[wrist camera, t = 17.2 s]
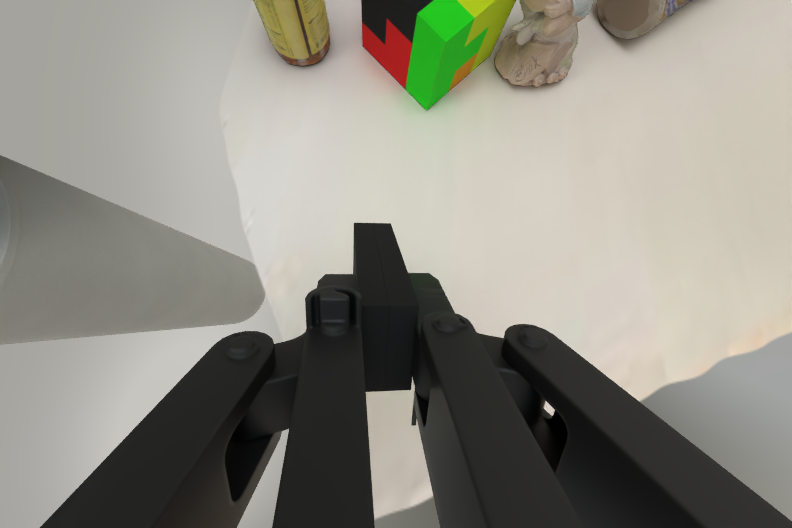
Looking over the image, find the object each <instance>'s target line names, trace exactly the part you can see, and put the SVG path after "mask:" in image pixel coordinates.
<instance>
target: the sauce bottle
mask: <svg viewBox="0 0 792 528" xmlns="http://www.w3.org/2000/svg"><path fill="white" fill-rule="evenodd" d="M253 1H254V3H255V5H256V8H257V10H258V12H259V15H260V17H261V19H262V22H263V24H264V27H265V29H266V31H267V34H268V36H269V39H270V41H271V43H272V45H273V46H274V48H275V49H276V51H277V52H278V53H279V55H281V57H282V58H283V59H285V60H286V61H287V62H289V63H290V64H292V65H298V66H304V65H312V64H315V63H317V62H318V61H320V60H321V59H322V58H323V57H324V55H325V54H326V53H327V51H328V49H329V46H330V36H329V23H328V18H327V12H326V7H325V2H324V0H253Z"/></svg>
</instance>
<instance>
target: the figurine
mask: <svg viewBox="0 0 792 528" xmlns="http://www.w3.org/2000/svg"><path fill="white" fill-rule="evenodd" d="M593 1H594V0H520V4H521V7H522V11H523V15H524V19H523V20H522V21H521V22H519V23H517V24H515V25H513V26H512V27H511V29H512V30H513V31H514V32H513V33H511V34H509V35H508V36H506V37H505V39H504V40H503V43H502V47H501V49H500V50H499V52H498V53H497V55H496V58H495V65H496V68H497V70H498V71H499V73H500V74H501V75H502V77H503V78H505V79H508V80H509V82H510V83H511V84H513V85H521V86H526V85H527V86H529V85H534V86H536V87H539V86H540V85H541V84H542V83H543V84H544V83H549V84H550V83H553V82H554V81H555V82H558V81H560V80H562V79H563V78H564V77H565V76H567V73H568V71H569V69H570V67H571V64H572V54H573V52H574V50H575V48H576V45H577V41H578V28H577V22H579V21H580V20H582V19H583V18H584V17H585V16H586V15H588V14H589V11H590V10H591V7H592V2H593Z"/></svg>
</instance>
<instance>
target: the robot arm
mask: <svg viewBox="0 0 792 528" xmlns="http://www.w3.org/2000/svg"><path fill="white" fill-rule="evenodd" d="M305 303H306V324H307V329H306V332H305V333H304V334H302V335H301V336H299V337H297V338H295V339H292V340H289V341H286V342H281V343H277V344H274V343H273V340H272V338H271V337H270V336H268V335H267V334H265V333H261V332H257V331H244V332H239V333H235V334H232V335H229V336H227V337H225V338H223V339H221V340H220V341H219V342H217V343H216V344H215V345H214V346H213V347H212V348H211V349H210V350H209V351H208V352H207V353H206V354H205V355H204V356H203V357H202V358H201V359H200V361H198V362H197V363H196V364H195V366H194V367H193V368H192V369H191V370H190V371H189V372H188V373H187V374H186V375H185V376H184V377H183V378H182V379H181V380H180V381H179V382H178V383H177V384H176V386H174V388H173V389H172V390H171V391H170V392H169V393H168V394H167V395H166V396H165V397H164V398H163V399H162V400H161V401H160V402H159V403H158V404H157V405H156V407H155V408H154V409H153V410H152V411H151V412H150V413H149V414H148V415H147V416H146V417H145V418H144V419H143V420H142V421H141V422H140V423H139V424H138V426H136V427H135V428H134V429H133V431H132V432H131V433H130V434H129V435H128V436H127V437H126V438H125V439H124V440H123V441H122V442H121V443H120V444H119V445H118V446H117V447H116V448H115V449H114V450H113V452H112V453H111V454H110V455H109V456H108V457H107V458H106V459H105V460H104V461H103V462H102V463H101V464H100V465H99V466H98V467H97V468H96V469H95V471H93V473H92V474H91V475H90V476H89V477H88V478H87V479H86V480H85V481H84V482H83V483H82V484H81V485H80V486H79V487H78V488H77V489H76V490H75V492H74V493H73V494H72V495H71V496H70V497H69V498H68V499H67V500H66V501H65V502H64V503H63V504H62V505H61V506H60V507H59V508H58V509H57V510H56V511H55V512H54V513H53V515H52V516H51V517H50V518H49V519H48V520H47V521H46V522H45V523H44V524H43V525H42V526H41V527H40V528H237V526H238V524H239V522H240V519H241V517H242V515H243V513H244V511H245V509H246V507H247V505H248V503H249V501H250V499H251V497H252V495H253V493H254V491H255V489H256V487H257V484H258V483H259V481H260V479H261V476H262V474H263V472H264V470H265V468H266V466H267V464H268V462H269V460H270V458H271V456H272V454H273V452H274V450H275V448H276V446H277V444H278V441H279V439H280V437H281V432H282V431H283V430H286V429H289V434H288V439H287V445H286V451H285V457H284V463H283V468H282V475H281V480H280V486H279V492H278V497H277V503H276V510H275V515H274V521H273V527H272V528H374V512H373V497H372V482H371V467H370V452H369V437H368V422H367V407H366V392H372V391H395V390H411V383H412V376H413V380H414V385H415V393H414V403H413V413H412V425H416V418H417V421H418V426H419V430H420V435H421V440H422V444H423V449H424V454H425V458H426V463H427V468H428V472H429V477H430V482H431V486H432V491H433V495H434V499H435V505H436V509H437V514H438V519H439V523H440V528H792V521H791V520H789V519H788V518H787V517H786V516H784V515H783V514H782V513H780V512H779V511H778V510H777V509H775V508H774V507H773V506H771V505H770V504H769V503H768V502H766V501H765V500H764V499H763V498H761V497H760V496H759V495H757V494H756V493H755V492H754V491H752V490H751V489H750V488H749V487H747V486H746V485H745V484H743V483H742V482H741V481H740V480H738V479H737V478H736V477H734V476H733V475H732V474H731V473H729V472H728V471H727V470H726V469H724V468H723V467H722V466H720V465H719V464H718V463H717V462H715V461H714V460H713V459H712V458H710V457H709V456H708V455H706V454H705V453H704V452H702V451H701V450H700V449H699V448H697V447H696V446H695V445H694V444H692V443H691V442H690V441H688V440H687V439H686V438H685V437H683V436H682V435H681V434H679V433H678V432H677V431H676V430H674V429H673V428H672V427H671V426H669V425H668V424H667V423H666V422H664V421H663V420H662V419H660V418H659V417H658V416H657V415H655V414H654V413H653V412H652V411H650V410H649V409H648V408H646V407H645V406H644V405H642V404H641V403H640V402H639V401H638V400H636V399H635V398H634V397H632V396H631V395H630V394H629V393H627V392H626V391H625V390H623V389H622V388H621V387H620V386H618V385H617V384H616V383H615V382H613V381H612V380H611V379H609V378H608V377H607V376H606V375H604V374H603V373H602V372H601V371H599V370H598V369H597V368H595V367H594V366H593V365H592V364H590V363H589V362H588V361H586V360H585V359H584V358H583V357H581V356H580V355H579V354H578V353H576V352H575V351H574V350H572V349H571V348H570V347H569V346H567V345H566V344H565V343H563V342H562V341H561V340H560V339H558V338H557V337H556V336H555V335H553V334H552V333H550V332H548V331H547V330H545V329H542V328H539V327H537V326H534V325H529V324H518V325H513V326H511V327H509V328H508V329H507V330H506V331H505V335H504V338H499V337H493V336H488V335H483V334H479V333H477V332H476V331H475V329H474V327H473V325H472V324H471V323H470V322H469V320H468V319H466V318H464V317H463V316H461V315H459V314H455V312H454V310H453V308H452V306H451V304H450V302H449V301H448V299H447V297H446V296H445V293H444V291H443V289H442V287H441V285H440V283H439V281H438V279H436V278H435V277H433V276H432V275H431V274H429V273H408V272H407V269H406V266H405V263H404V260H403V258H402V255H401V252H400V249H399V246H398V243H397V241H396V238H395V235H394V232H393V229H392V226H391V224H386V223H354V261H353V274H325V275H324V276H323V277H322V278H321V279H320V280H319V281H318V285H317V289H314V290H313V291H311V292H309V293H308V295H307V296H306V298H305ZM545 401H547V402H548V403H549V404H550V405H551V406H552V407H553V408H554V409H555V412H554V415H553V416H551V415H550V414H549V413H548V412H547V411H546V410H545V409H544V404H545Z"/></svg>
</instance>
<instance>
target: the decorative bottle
mask: <svg viewBox="0 0 792 528" xmlns="http://www.w3.org/2000/svg"><path fill="white" fill-rule="evenodd" d="M690 1H691V0H597V8H598V15H599V18H600V21H601V23H602V25H603V26H604V27H605V28H606V29H607V30H608V31H609V32H610V33H612V34H613V35H615V36H616V37H619V38H625V39H633V38H637V37H640V36H642V35H645V34H647V33H648V32H649V31H651V30H652V28H653V27H655V26H656V25H658V24H660V22H661V21H662V20H663V19H665V18H666V17H668V16H670V15H672V14H673V13H674V12H676V11H677V10H679V9H680V8H682V7H683V6H684V5H686V4H687V3H688V2H690Z"/></svg>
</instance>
